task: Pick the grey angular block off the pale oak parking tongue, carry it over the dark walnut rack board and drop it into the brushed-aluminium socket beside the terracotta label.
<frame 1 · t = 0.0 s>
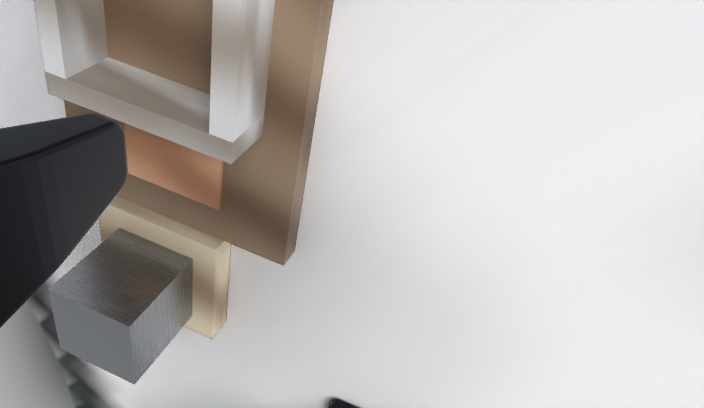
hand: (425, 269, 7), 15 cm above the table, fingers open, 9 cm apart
rack board: (190, 44, 25), on the table
parking tongue: (173, 256, 33), on the table
grey angular block: (157, 272, 32), point 1 cm above the table, touching parking tongue
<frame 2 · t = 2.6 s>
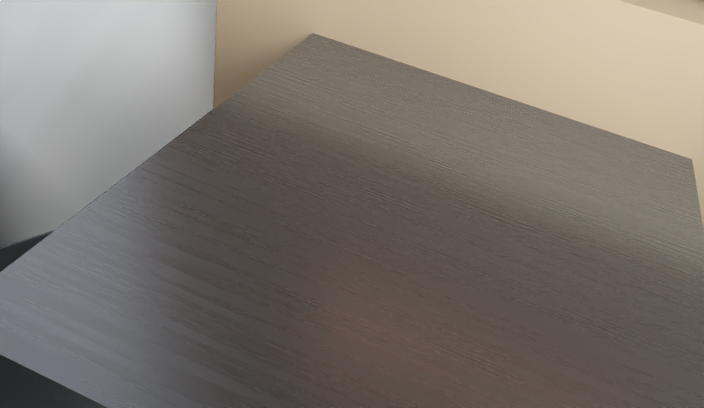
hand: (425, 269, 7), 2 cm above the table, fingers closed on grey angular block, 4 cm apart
parking tongue: (463, 180, 9), on the table
grey angular block: (439, 236, 8), point 1 cm above the table, touching gripper, parking tongue
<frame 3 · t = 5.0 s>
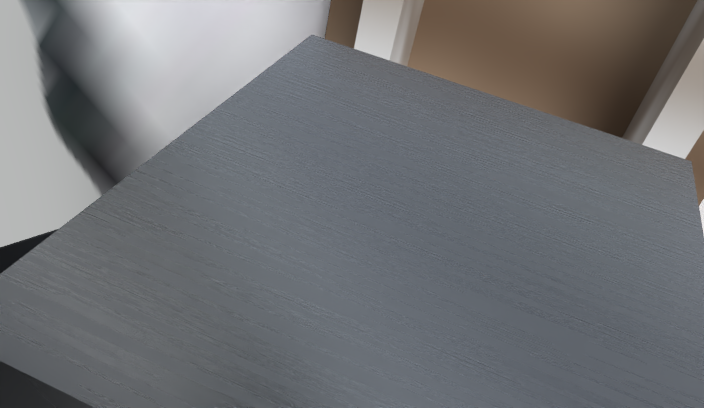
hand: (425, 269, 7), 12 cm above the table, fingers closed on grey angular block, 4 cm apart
rack board: (525, 62, 18), on the table
grey angular block: (438, 238, 8), point 12 cm above the table, touching gripper
when the fingers open (4 cm above the table, at t = 7.2 s): grey angular block drops 3 cm, resting on rack board.
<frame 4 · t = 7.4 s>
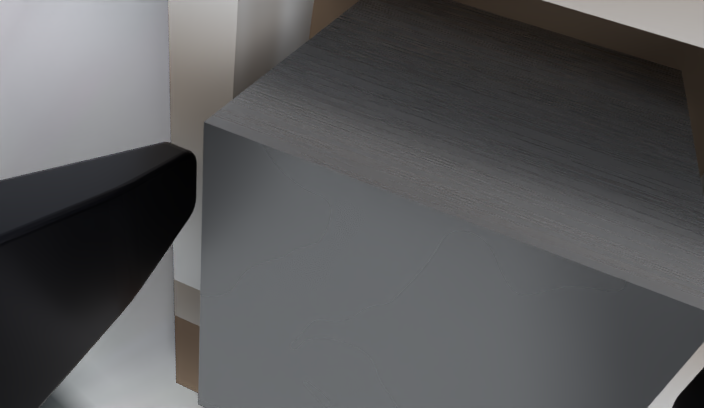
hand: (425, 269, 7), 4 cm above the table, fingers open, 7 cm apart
rack board: (459, 200, 12), on the table
grey angular block: (480, 148, 10), point 1 cm above the table, touching rack board
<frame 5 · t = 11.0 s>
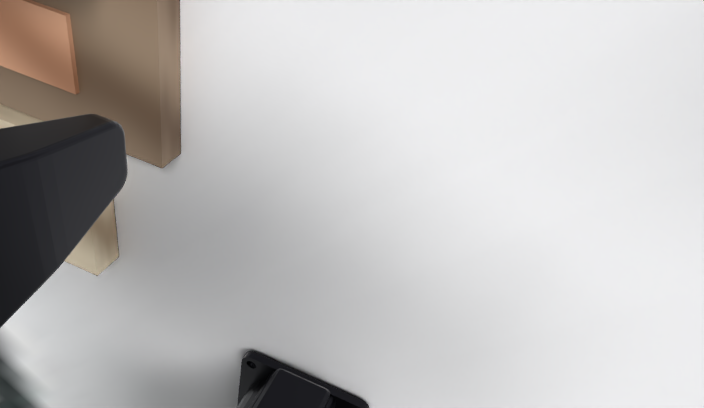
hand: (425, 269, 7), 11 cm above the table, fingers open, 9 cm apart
parking tongue: (49, 173, 27), on the table
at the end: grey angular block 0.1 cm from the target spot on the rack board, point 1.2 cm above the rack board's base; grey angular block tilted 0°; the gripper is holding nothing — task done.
